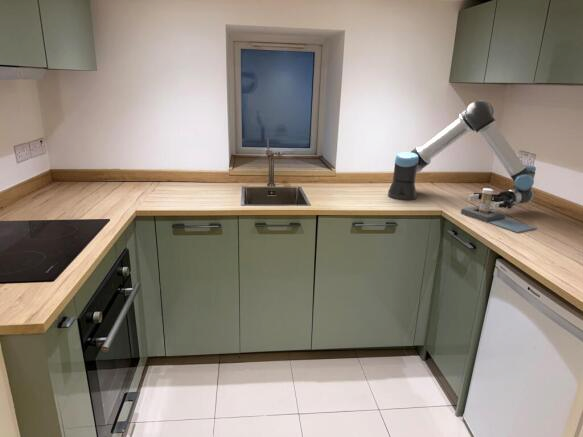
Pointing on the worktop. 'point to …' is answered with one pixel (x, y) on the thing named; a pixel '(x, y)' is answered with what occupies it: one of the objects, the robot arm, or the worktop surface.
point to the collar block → (488, 217)
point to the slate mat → (512, 225)
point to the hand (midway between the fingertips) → (481, 201)
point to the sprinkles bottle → (485, 200)
